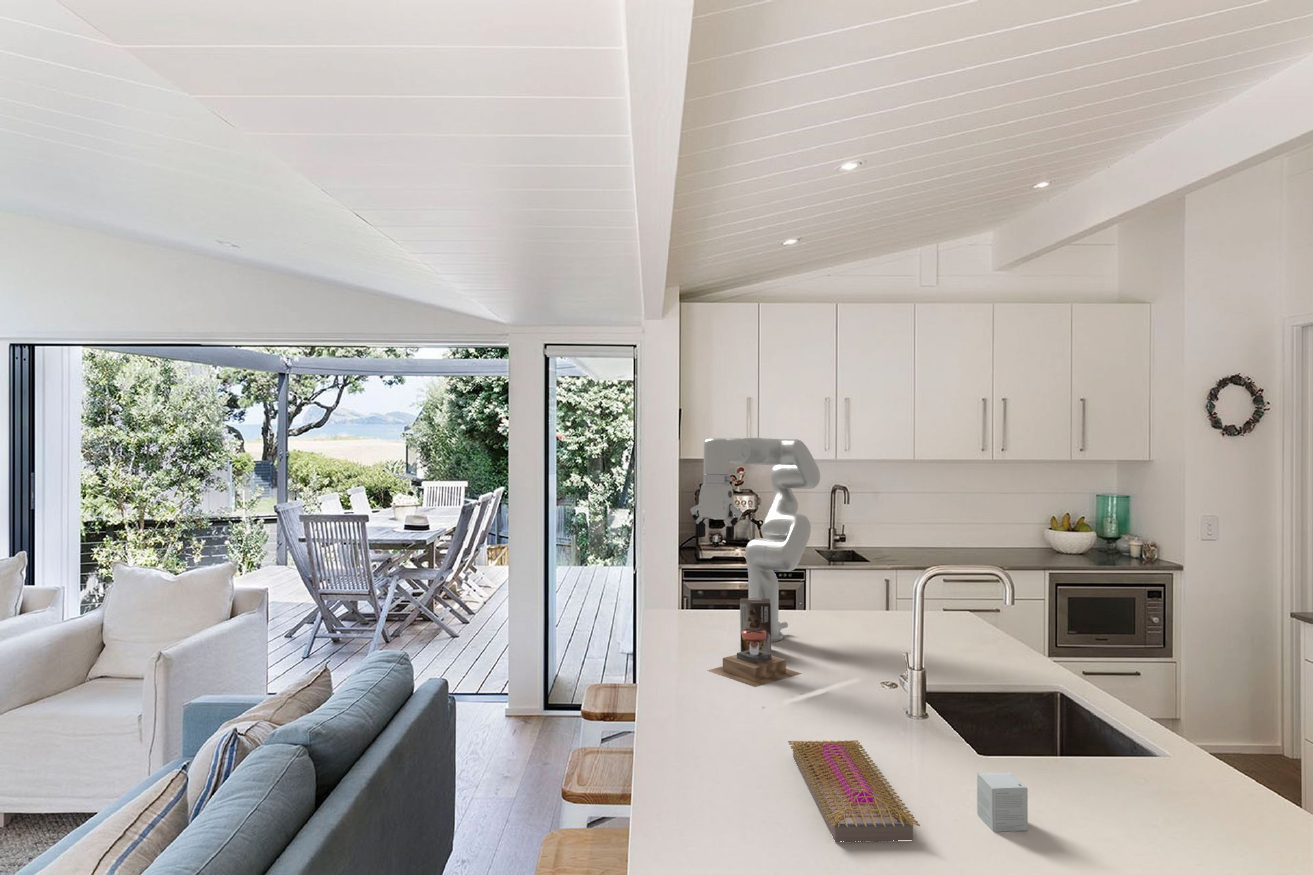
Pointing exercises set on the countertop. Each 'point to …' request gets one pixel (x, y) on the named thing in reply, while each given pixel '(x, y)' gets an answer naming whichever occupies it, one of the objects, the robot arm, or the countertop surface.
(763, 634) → the copper dome knob
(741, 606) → the coffee box
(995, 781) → the product box
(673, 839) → the countertop surface
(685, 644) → the countertop surface
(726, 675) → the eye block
